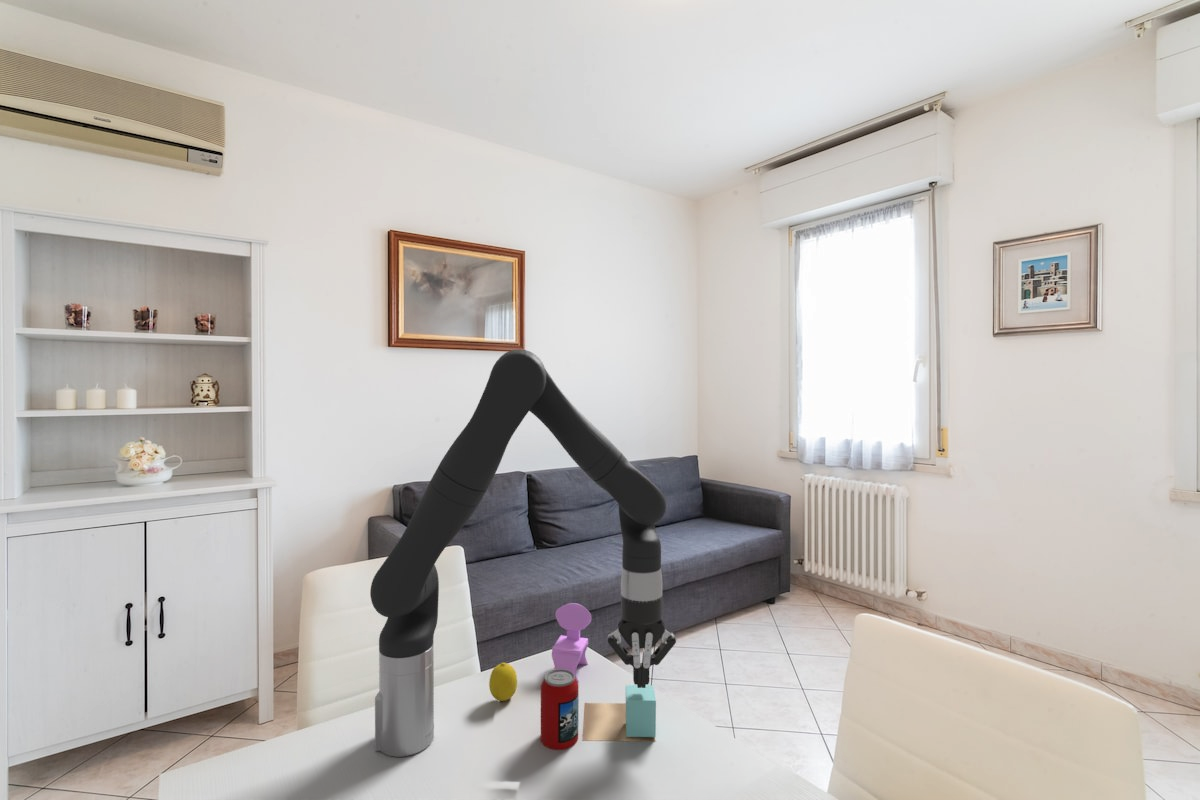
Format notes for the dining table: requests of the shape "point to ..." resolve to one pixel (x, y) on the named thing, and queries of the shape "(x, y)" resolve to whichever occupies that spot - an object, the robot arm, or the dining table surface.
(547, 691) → the beverage can
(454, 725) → the dining table surface
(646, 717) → the aqua foam cube
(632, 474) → the robot arm
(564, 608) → the toy chair
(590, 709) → the board
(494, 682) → the lemon
